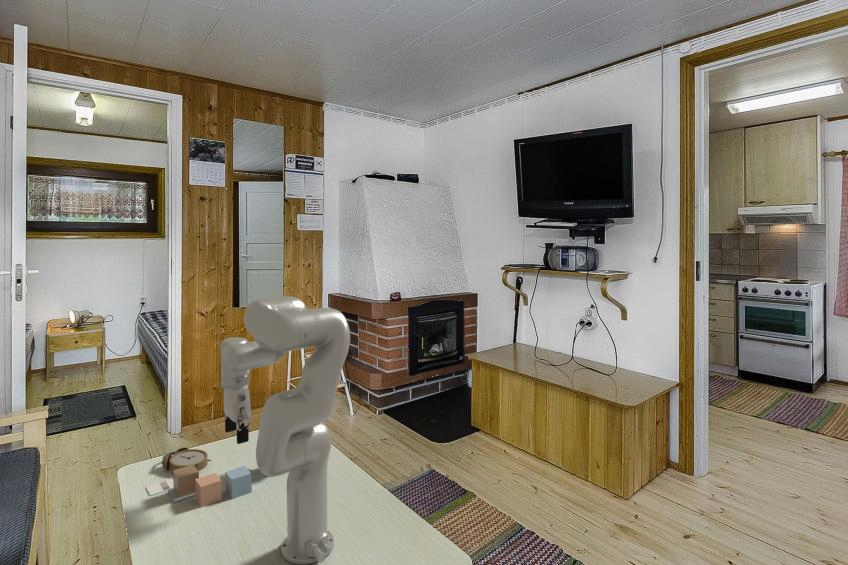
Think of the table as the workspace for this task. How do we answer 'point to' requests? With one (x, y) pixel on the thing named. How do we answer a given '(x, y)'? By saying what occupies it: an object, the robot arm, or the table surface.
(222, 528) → the table surface
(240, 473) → the blue block
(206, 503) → the terracotta block
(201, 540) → the table surface
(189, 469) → the base
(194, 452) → the alarm clock
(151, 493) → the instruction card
